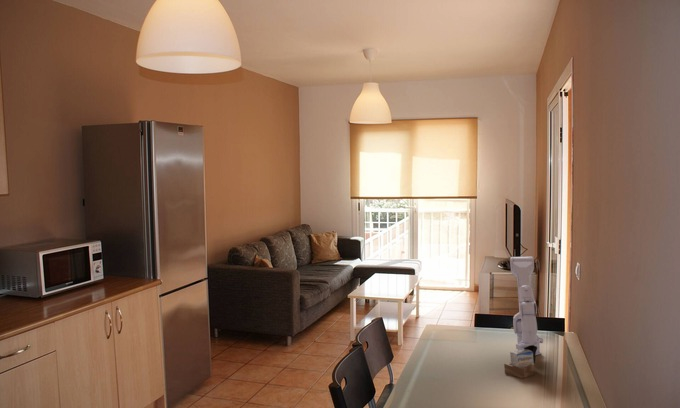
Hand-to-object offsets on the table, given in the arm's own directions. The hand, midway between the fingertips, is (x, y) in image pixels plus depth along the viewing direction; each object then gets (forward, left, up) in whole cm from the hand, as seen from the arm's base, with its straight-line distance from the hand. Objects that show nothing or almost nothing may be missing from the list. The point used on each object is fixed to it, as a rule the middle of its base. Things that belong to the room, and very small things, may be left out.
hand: (530, 363), depth 222 cm
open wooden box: (+7, 0, -3) cm, 7 cm away
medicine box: (+5, 0, -3) cm, 6 cm away
